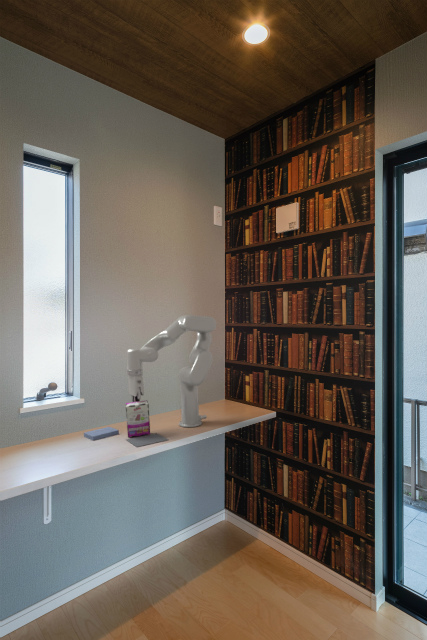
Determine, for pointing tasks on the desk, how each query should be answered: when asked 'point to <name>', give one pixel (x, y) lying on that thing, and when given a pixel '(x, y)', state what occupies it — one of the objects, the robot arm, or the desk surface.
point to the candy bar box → (137, 418)
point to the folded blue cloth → (101, 433)
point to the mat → (147, 440)
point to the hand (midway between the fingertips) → (136, 409)
